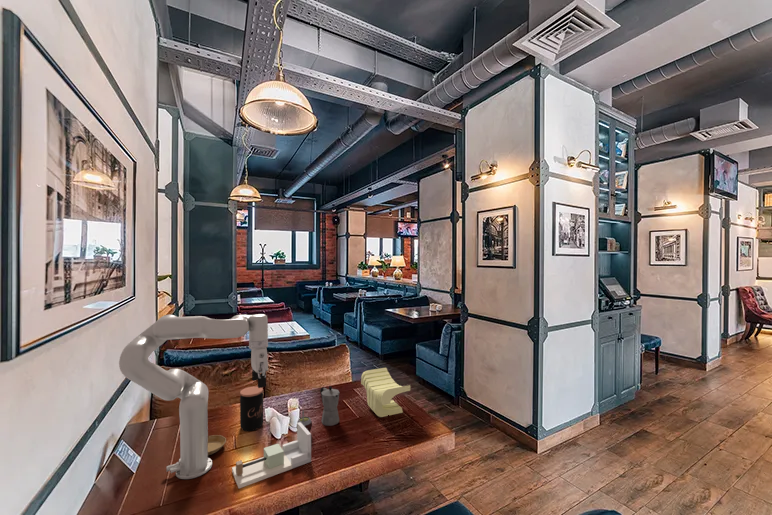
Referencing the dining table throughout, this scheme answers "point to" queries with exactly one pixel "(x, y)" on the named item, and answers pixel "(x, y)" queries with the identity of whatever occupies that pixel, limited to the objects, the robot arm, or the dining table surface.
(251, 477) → the shelf lane
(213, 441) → the plant saucer
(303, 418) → the mate gourd
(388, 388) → the slatted curved stool
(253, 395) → the coffee jar
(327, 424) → the coffeepot
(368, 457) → the dining table surface
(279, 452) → the cord block
